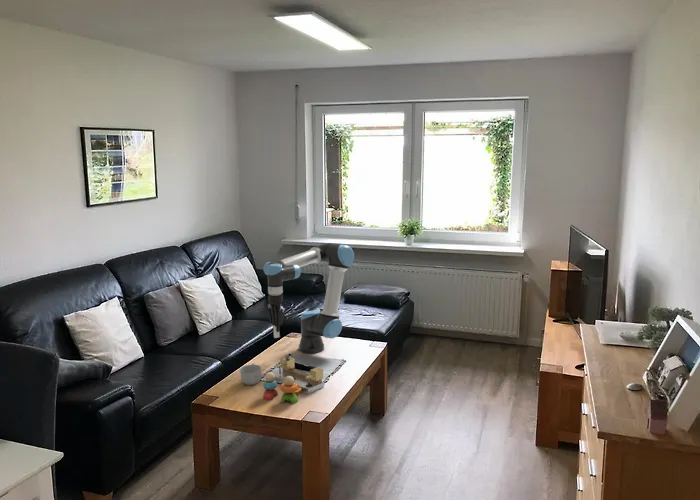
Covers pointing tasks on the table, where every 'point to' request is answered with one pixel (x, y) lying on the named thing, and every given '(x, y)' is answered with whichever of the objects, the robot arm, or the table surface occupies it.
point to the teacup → (251, 374)
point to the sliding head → (286, 363)
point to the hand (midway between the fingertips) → (276, 337)
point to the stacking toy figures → (287, 387)
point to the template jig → (303, 379)
